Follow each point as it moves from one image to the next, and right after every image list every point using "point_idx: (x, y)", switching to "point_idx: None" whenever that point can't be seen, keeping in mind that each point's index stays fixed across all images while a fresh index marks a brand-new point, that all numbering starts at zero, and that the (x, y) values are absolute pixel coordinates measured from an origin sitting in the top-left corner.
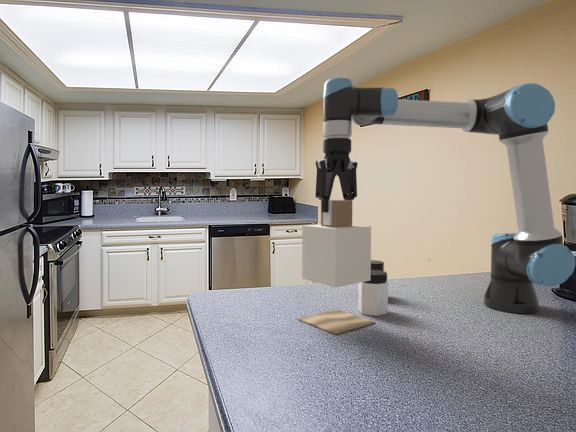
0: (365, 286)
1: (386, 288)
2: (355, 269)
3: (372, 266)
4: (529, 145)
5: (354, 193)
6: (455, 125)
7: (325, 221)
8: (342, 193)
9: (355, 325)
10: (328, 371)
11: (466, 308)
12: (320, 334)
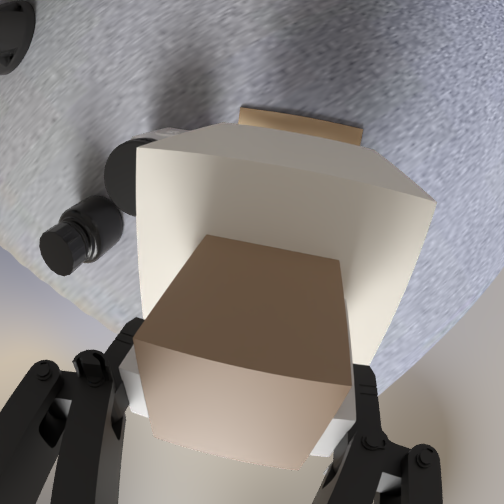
0: None
1: (145, 134)
2: (287, 136)
3: (72, 241)
4: None
5: (46, 388)
6: None
7: None
8: (121, 450)
9: (292, 124)
10: (485, 66)
11: (49, 61)
12: None
